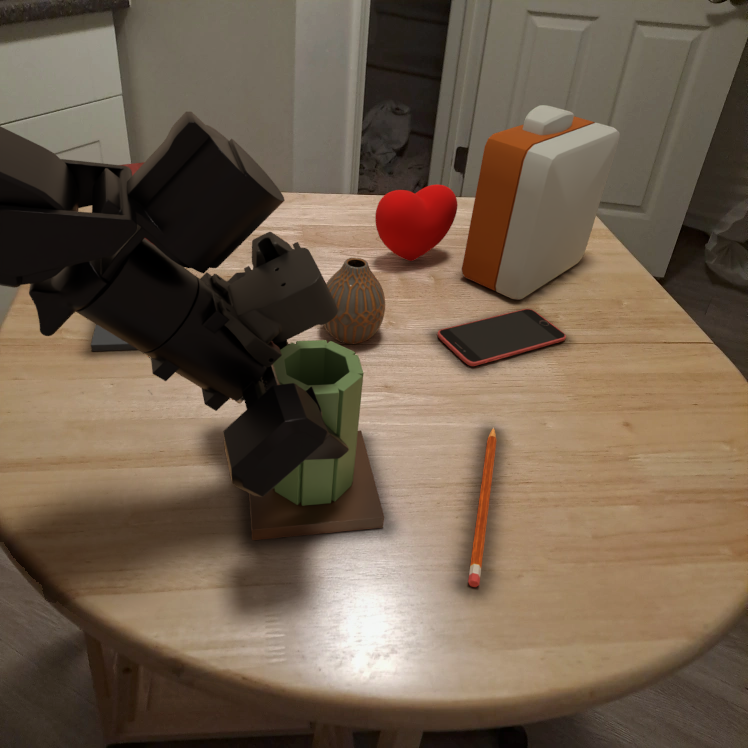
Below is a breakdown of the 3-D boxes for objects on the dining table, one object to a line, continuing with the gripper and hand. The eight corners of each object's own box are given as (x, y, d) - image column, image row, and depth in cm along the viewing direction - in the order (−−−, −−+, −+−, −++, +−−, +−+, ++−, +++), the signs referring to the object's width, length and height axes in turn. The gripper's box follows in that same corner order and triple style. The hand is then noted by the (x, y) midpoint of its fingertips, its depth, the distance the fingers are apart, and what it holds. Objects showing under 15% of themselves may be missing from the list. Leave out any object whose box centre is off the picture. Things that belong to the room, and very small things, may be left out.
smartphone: (570, 336, 75) (471, 364, 69) (568, 341, 75) (470, 369, 69) (530, 306, 79) (434, 330, 73) (529, 310, 80) (433, 334, 74)
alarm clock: (529, 240, 97) (566, 92, 85) (583, 261, 92) (630, 109, 80) (457, 279, 85) (487, 114, 73) (515, 306, 81) (558, 135, 68)
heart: (434, 245, 92) (445, 175, 86) (457, 262, 89) (470, 190, 83) (362, 259, 87) (368, 186, 81) (384, 278, 83) (392, 202, 77)
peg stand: (252, 540, 49) (250, 484, 45) (246, 448, 57) (244, 393, 53) (383, 527, 51) (391, 473, 48) (360, 440, 59) (365, 387, 55)
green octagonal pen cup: (274, 508, 50) (274, 395, 44) (268, 450, 55) (267, 341, 49) (357, 501, 51) (369, 391, 45) (344, 445, 56) (353, 338, 50)
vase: (352, 311, 76) (357, 241, 71) (394, 337, 73) (403, 266, 67) (306, 330, 72) (308, 258, 67) (348, 359, 69) (354, 285, 63)
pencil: (467, 585, 47) (468, 579, 47) (488, 428, 62) (490, 423, 61) (478, 588, 47) (480, 582, 47) (497, 430, 61) (498, 425, 61)
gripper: (293, 301, 32) (461, 437, 42) (234, 165, 46) (371, 291, 56) (141, 445, 34) (335, 542, 44) (129, 274, 48) (278, 376, 58)
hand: (331, 422), depth 50 cm, fingers closed on green octagonal pen cup, 6 cm apart
